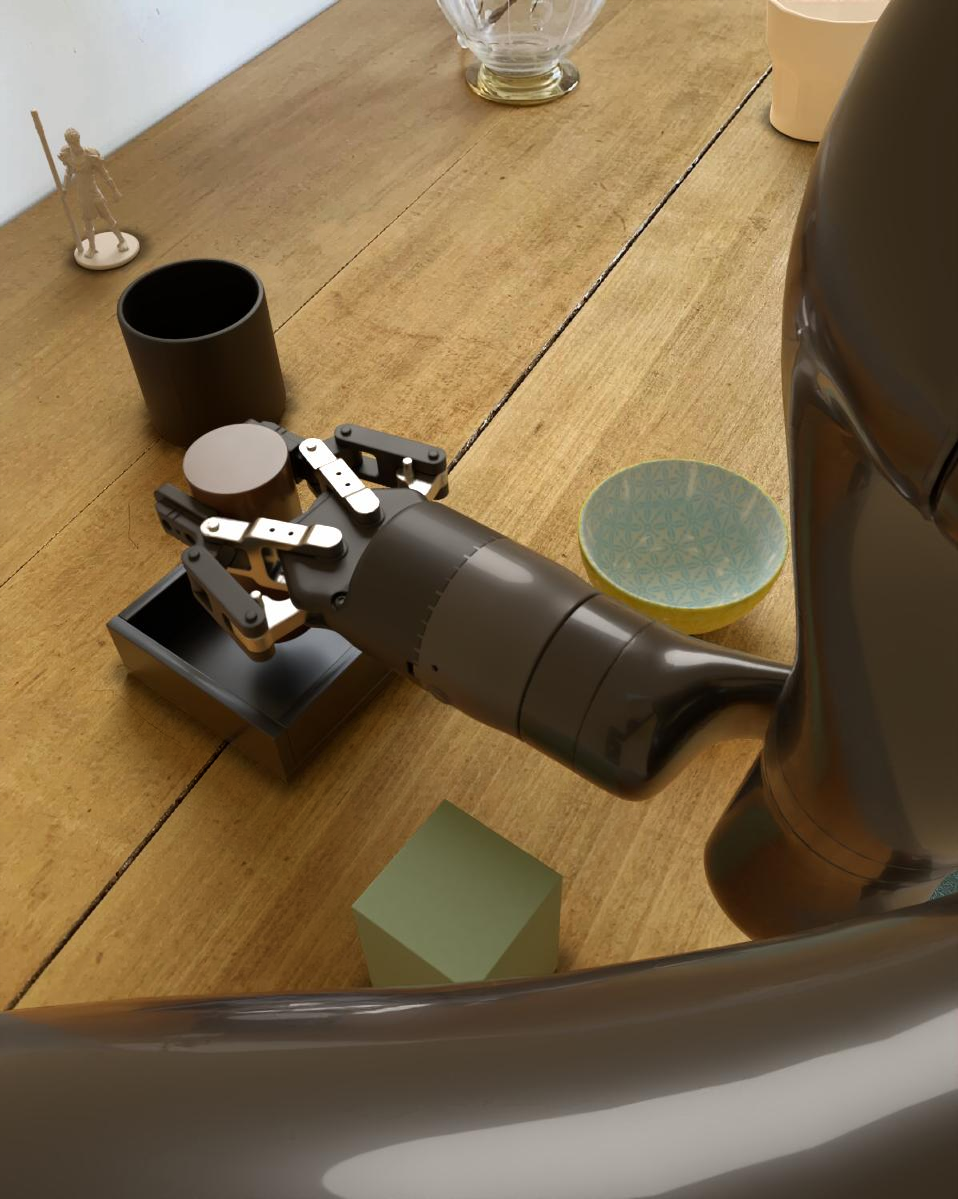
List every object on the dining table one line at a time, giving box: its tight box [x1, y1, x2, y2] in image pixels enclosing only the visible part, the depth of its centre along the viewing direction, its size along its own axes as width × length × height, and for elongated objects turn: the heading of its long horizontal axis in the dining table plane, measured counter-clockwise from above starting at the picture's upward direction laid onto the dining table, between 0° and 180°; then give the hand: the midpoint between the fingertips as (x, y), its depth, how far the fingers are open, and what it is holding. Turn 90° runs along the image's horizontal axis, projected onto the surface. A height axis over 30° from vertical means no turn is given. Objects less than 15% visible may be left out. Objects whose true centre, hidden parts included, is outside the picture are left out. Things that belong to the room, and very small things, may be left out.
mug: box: [116, 257, 287, 450], centre depth 75 cm, size 9×12×9 cm
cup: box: [765, 0, 890, 143], centre depth 98 cm, size 12×12×11 cm
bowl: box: [577, 458, 790, 636], centre depth 63 cm, size 11×12×6 cm
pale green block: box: [350, 798, 564, 987], centre depth 47 cm, size 6×6×9 cm
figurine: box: [30, 108, 141, 271], centre depth 87 cm, size 5×5×12 cm
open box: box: [105, 509, 399, 785], centre depth 62 cm, size 13×13×4 cm
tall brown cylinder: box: [181, 424, 311, 644], centre depth 56 cm, size 5×5×11 cm
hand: (205, 468), depth 55 cm, fingers closed on tall brown cylinder, 5 cm apart
